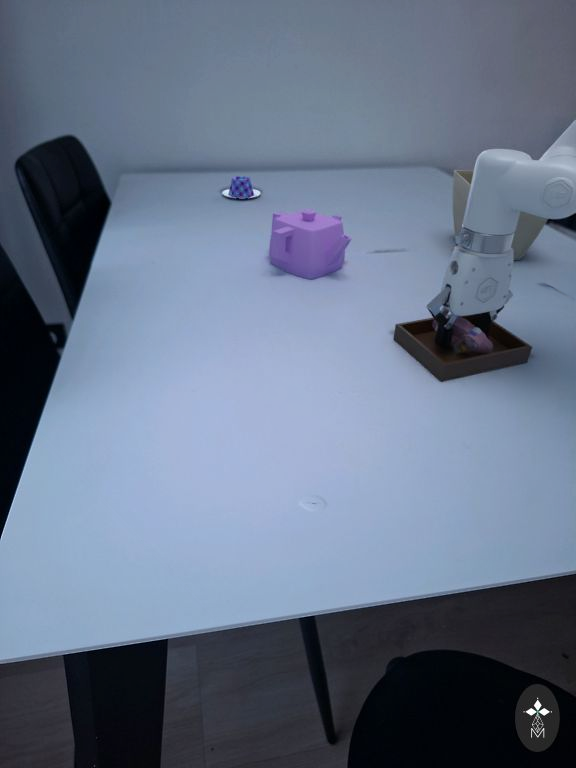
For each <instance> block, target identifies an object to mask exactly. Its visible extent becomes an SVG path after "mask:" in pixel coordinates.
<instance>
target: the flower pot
mask: <svg viewBox="0 0 576 768" xmlns="http://www.w3.org/2000/svg"><path fill="white" fill-rule="evenodd" d="M473 173H474V169H454V170H453V178H452V179H453V180H452V216H453V229H454V236H455V237H456V236H457V235H460V234H461V229H462V225H463V220H464V215H465V211H466V206H467V201H468V196H469V192H470V187H471V182H472V177H473ZM548 220H549V219H548V218H543V217H539V216H536V215H533V214H530V213H526V212H523V211H520V215H519V219H518V222H517V226H516V230H515V234H514V237H513V241H512V245H511V248H512V249H513V251H514V258H513V261H520V260H521V259H522V258H523V257H524V256H525V254H526V253H527V252H528V250H529V249H530V248H531V247H532V245H533V244H534V242H535V241H536V239H537V238H538V236H539V235H540V234H541V231H542V230H543V229H544V227H545V225H546V224H547V222H548Z"/></svg>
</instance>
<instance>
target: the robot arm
mask: <svg viewBox="0 0 576 768" xmlns="http://www.w3.org/2000/svg"><path fill="white" fill-rule="evenodd" d="M473 170H474V173H473V177H472V182H471V187H470V192H469V196H468V201H467V206H466V211H465V215H464V220H463V225H462V229H461V234H460V235H457V236H456V237H455V238H454V241H455V244H456V246H455V247H454V248H453V251H452V253H451V255H450V259H449V261H448V264H447V267H446V270H445V272H444V273H445V274H444V277H443V280H442V284H441V288H440V292H439V293H438V294H437V295H436V296H435V297H434V298H433V299H431V301H429V302H428V303H427V305H426V309H427V310H428V312H429V314H430V315H431V318H434V319H435V320H436V322H438V328H437V333H436V338H435V342H436V344H438V345H439V346H440V347H441V348H443V349H444V350H449V348H450V344H451V340H452V335H453V331H454V330H453V328H451V326H452V325H453V323H454V322H455V320H456V319H457V317H458V316H468V315H474V314H477V317H476V320H475V324H474V326H475V327H477V328H480V329H481V331H482V332H483V333H484V334H485V335H486V337H487V338H488V336H489V333H490V329H491V325H492V321H494V322H495V321H496V320H497V318H498V315H499V313H500V312H501V311H502V310H503V309H505V307H506V306H505V305H506V304H507V303H509V301H511V299H512V298H513V296H514V294H513V292H512V291H511V290H510V286H511V281H512V275H513V268H514V260H513V258H514V251H513V249H512V248H511V245H512V241H513V237H514V234H515V230H516V226H517V222H518V219H519V215H520V211H523V212H526V213H530V214H533V215H536V216H539V217H543V218H548V220H549V219H550V220H561V219H566V218H568V217H570V216H572V215H574V214H576V119H574V120H573V122H571V124H570V125H569V126H568V127H567V128H566V129H565V131H563V133H562V134H561V135H560V136H559V137H558V138H557V139H556V140H555V141H554V143H552V145H551V146H550V147H549V148H548V149H547V150H546V151H545V152H544V153H543V155H542V156H541V157H540V158H539V159H532V157H531V155H530V154H528V153H526V152H524V151H521V150H517V149H509V148H490V149H485V150H484V151H482V152H481V153H479V155H478V156H477V157H476V160H475V164H474V168H473ZM449 312H450V313H449ZM479 313H481V314H479ZM447 314H449V315H450V316H449V317H448V319H447V318H446V315H447Z"/></svg>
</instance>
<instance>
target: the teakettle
mask: <svg viewBox="0 0 576 768" xmlns="http://www.w3.org/2000/svg"><path fill="white" fill-rule="evenodd" d="M342 219H343V217H342V216H340V215H332V216H331V217H330V216H328V215H325V214H321V213H318V212H317V211H316V210H315V209H311V208H307V209H306V208H304V209H302V210H299V211H294V212H290V213H286V212H282V211H277V212H274V213H272V221H271V234H270V240H269V248H268V252H269V253H268V256H269V260H270V263H271V265H273V266H274V267H276V268H278V269H280V270H282V271H284V272H285V273H286V272H287V273H289V274H292V275H293V276H297V277H301V278H303V279H307V280H315V279H318V278H321V277H325V276H326V275H329V274H331V273H334V272H336V271H338V270H340V269H342V268H343V265H344V262H345V257H346V249H347V247H348V246H349V244H350V243H351V241H352V237H350V236H349V235H347V234H345V231H344V225H343V222H342Z"/></svg>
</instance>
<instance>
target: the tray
mask: <svg viewBox="0 0 576 768" xmlns="http://www.w3.org/2000/svg"><path fill="white" fill-rule="evenodd" d="M479 314H481V313H479ZM458 317H461V318H464V319H466V320H468V321H469V322H470V323H471V324H472V325H474V324H475V320H476V317H477V314H474V315H468V316H458ZM434 321H435V319H434V318H433V317H428V318H422V319H417V320H411V321H405V322H399V323H396V324H395V327H394V333H393V341H395V342H396V343H397V344H398V345H399V346H400V347H401V348H402V349H404V351H406V352H407V353H408V354H409V355H411V357H412V358H414V359H415V360H416V361H417V362H418V363H419V364H420V365H421V366H423V367H424V368H425V369H426V370H427V371H428V372H430V373H431V375H432V376H434V377H435V378H436V379H437V380H438V381H440V382H445V381H451V380H455V379H459V378H464V377H467V376H472V375H473V376H474V375H477V374H481V373H486V372H491V371H495V370H499V369H504V368H509V367H514V366H517V365H523V364H526V363H528V361H529V359H530V355H531V352H532V350H533V346H532V345H530V344H529V343H528V342H526V341H524V340H523V339H521V338H520V337H519V336H517V335H515V334H514V333H512V332H511V331H510V330H508V329H506V328H505V327H503V326H502V325H500V324H499V323H498V322H496V321H495V320H494V321H492V325H491V329H490V333H489V336H488V339H489V340H490V341H491V342H492V344H493V349H492V351H491V353H490V354H486V355H482V354H480V353H478V352H477V351H470V352H469V353H464V352H463V351H461V350H460V348H459V346H458V344H459V343H460V342H461V338H459V337H457V338H458V341H457V342H456V343H455V344H454V345H452V346H451V345H450V348H449V350H444V349H443V348H441V347H440V346H439V345H438V344H436V342H435V338H436V331H435V330H434V328H433V326H432V323H433V322H434Z"/></svg>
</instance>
